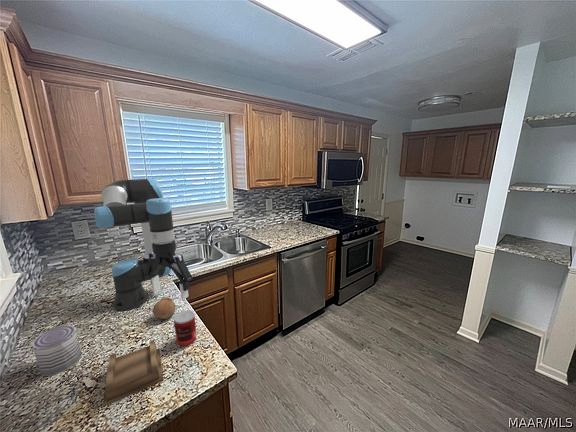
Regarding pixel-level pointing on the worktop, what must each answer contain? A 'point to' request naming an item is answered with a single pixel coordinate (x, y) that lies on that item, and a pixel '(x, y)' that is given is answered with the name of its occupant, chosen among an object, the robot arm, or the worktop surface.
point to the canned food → (185, 328)
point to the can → (57, 349)
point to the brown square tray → (132, 373)
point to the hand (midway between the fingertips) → (170, 295)
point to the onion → (164, 308)
